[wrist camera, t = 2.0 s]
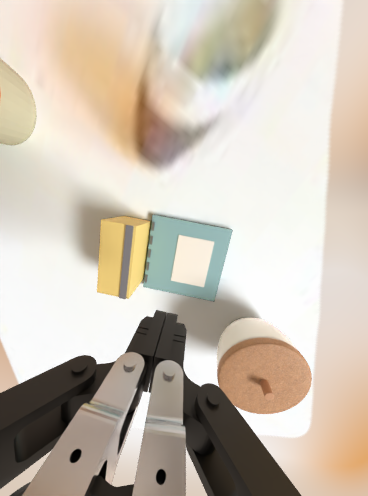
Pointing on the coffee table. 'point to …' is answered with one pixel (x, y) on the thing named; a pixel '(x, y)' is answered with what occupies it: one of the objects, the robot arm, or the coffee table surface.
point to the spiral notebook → (185, 257)
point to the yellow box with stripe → (122, 255)
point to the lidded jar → (261, 367)
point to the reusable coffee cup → (15, 107)
